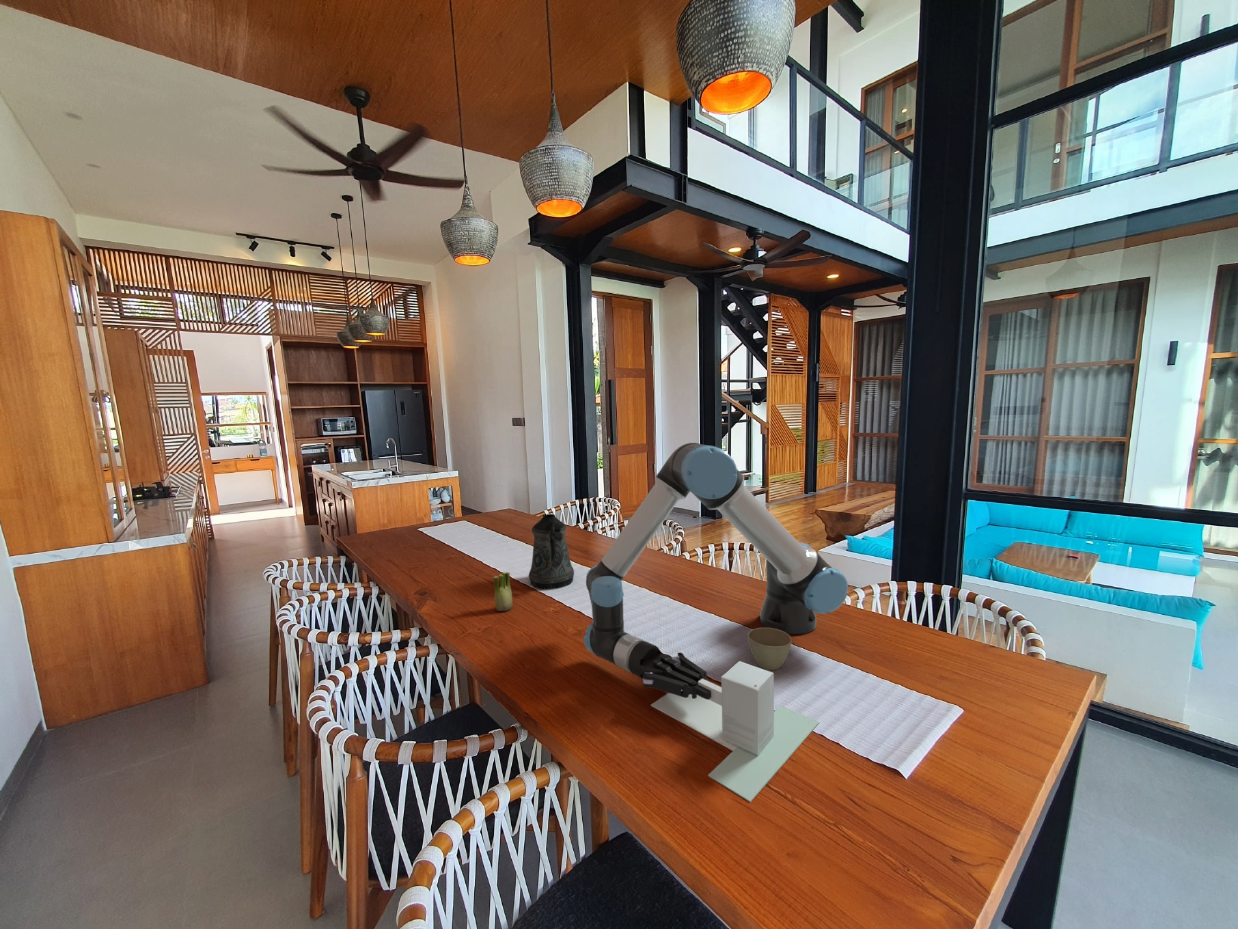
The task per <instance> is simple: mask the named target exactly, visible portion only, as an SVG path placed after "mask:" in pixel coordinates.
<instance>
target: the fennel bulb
mask: <svg viewBox="0 0 1238 929" xmlns="http://www.w3.org/2000/svg"><path fill="white" fill-rule="evenodd" d="M510 573H511V572H510V571H509V572H508V571H507V572H502V573H501V574H499V575H498V576H496V575H495V576H494V577H493V582H494V583H493V584H494V606H495V608H496V610H497V611H498V612H507V611H511V609H512V608H513V592H512V589H511V583H510V582H511V581H510V575H511V574H510Z"/></svg>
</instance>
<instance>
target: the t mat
mask: <svg viewBox="0 0 1238 929" xmlns="http://www.w3.org/2000/svg"><path fill="white" fill-rule="evenodd" d="M681 691H682V690H681ZM650 706H651V707H653V708H655V710H658V711H660V712H661V713H663V714H665V715H667V716H669V717H671V718H673V719H675V720H676V721H678V722H680V723H682V724H683V725H685V726H687V727H689V728H690V729H693V730H694V731H696V732H698V733H699V734H702V735H703V736H705V737H707V738H709V739H711V740H712V741H714V742H716V743H718V744H719V745H721V746H724V747H725V748H727V749H728V750H730V751H732V752H730V753H729V754H728V755H727V756H726V757H725V758H724V759H723V760H722V761H721V762H720V763H719V764H718V765H717V766H716V767H715V768H713V770H712V771H710V773H708V775H707V776H708V777H709V778H711V779H712V780H714V781H715V782H717V783H718V784H720V785H722V786H723V787H725V788H727V789H729V790H730V791H732V792H733V793H735V794H736V795H737V796H740V797H741V798H743V799H745V800H746V801H747V802H749V803H752V801H753V800H754V799H755V798H756V796H758V794H759V793H760V792H761V790H763V788H764V787H765V786H767V784H768V783H769V782H770V780H772V778H773V777H774V776H775V775H776V774H777V772H779V770H780V769H781V767H782V766H783V765H784V764H785V763H786V762H787V761H788V760H789V758H790V757H791V756H792V755H793V754H794V753H795V751H796V750H797V749H799V747H800V746H801V745H802V744H803V742H804V741H805V740H806V739H807V738H808V736H810V734H811V733H812V732H813V731H814V730H815V728H816V727H817V726H818V725H819V724H820V722H819V721H817V720H815V719H813V718H810V717H808V716H806V715H804V714H801V713H799V712H797V711H795V710H793V709H791V708H788V707H786V706H783V705H782V704H780V705H779V706H778V707H777V708H776V709H774V736H773V737H772V738H771V740H770V741H769V742H768V743H767V745H766V746H765V747H764V748H763V750H762V751H761V752H760V753H759V755H758V756H757V755H755V754H753V753H751V752H749V751H747V750H744V749H742V748H740V747H738V746H736V745H734V744H732V743H730V742H727V741H725V740H723V733H722V706H721V705H719V704H717V703H715V702H713V701H711V700H707V699H704V698H702V697H700V696H698V695H697V698H696V699H693V698H692V695H691V694H690V695H689V697H688V698H684V697H681V696H678V695H674V694H671V693H668V692H666V694H665V695H663V696H661V697H659V699H657V700H656V701H655V702H653V703H651V704H650Z"/></svg>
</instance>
